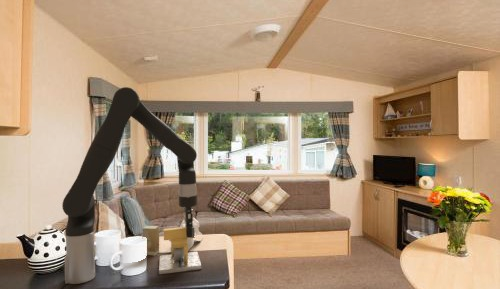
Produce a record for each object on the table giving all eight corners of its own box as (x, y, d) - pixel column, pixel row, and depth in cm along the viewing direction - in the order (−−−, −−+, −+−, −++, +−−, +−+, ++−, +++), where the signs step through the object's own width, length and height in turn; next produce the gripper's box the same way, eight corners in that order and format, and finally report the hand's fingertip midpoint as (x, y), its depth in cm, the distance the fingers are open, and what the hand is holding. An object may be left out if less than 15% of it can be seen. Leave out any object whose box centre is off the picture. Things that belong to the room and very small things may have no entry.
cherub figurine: (164, 228, 144) (179, 213, 163) (167, 254, 145) (181, 236, 165) (191, 228, 142) (203, 213, 162) (194, 253, 144) (205, 235, 163)
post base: (159, 274, 118) (158, 249, 118) (160, 259, 134) (159, 237, 134) (201, 268, 122) (200, 245, 122) (197, 254, 138) (196, 233, 138)
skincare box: (142, 255, 139) (141, 228, 139) (147, 251, 143) (146, 225, 143) (155, 255, 138) (155, 228, 138) (160, 252, 142) (159, 225, 142)
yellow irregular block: (164, 249, 123) (163, 231, 123) (164, 244, 129) (163, 227, 129) (195, 246, 126) (194, 228, 126) (193, 241, 133) (193, 224, 132)
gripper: (177, 192, 135) (179, 231, 135) (179, 198, 121) (180, 241, 121) (195, 191, 137) (196, 229, 137) (198, 196, 123) (199, 239, 123)
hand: (188, 234), depth 129 cm, fingers open, 5 cm apart
